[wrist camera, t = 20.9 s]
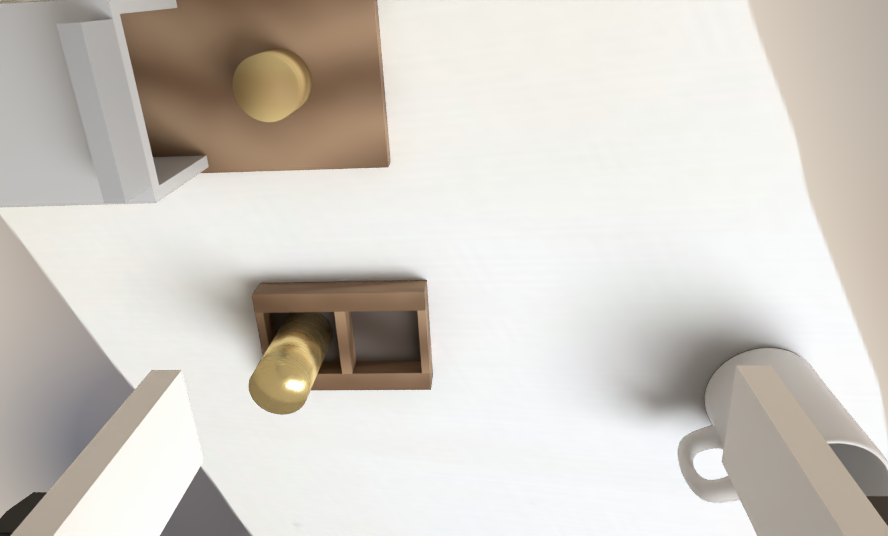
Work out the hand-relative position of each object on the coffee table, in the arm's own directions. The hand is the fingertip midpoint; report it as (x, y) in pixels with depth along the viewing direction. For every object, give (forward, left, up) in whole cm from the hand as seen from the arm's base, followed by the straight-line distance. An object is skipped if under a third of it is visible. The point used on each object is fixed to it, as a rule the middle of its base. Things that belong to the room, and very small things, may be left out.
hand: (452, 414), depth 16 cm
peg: (+15, -14, -31) cm, 38 cm away
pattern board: (-4, -16, -32) cm, 36 cm away
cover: (-4, -23, -30) cm, 38 cm away
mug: (+22, +20, -32) cm, 44 cm away
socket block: (+15, -10, -32) cm, 37 cm away
